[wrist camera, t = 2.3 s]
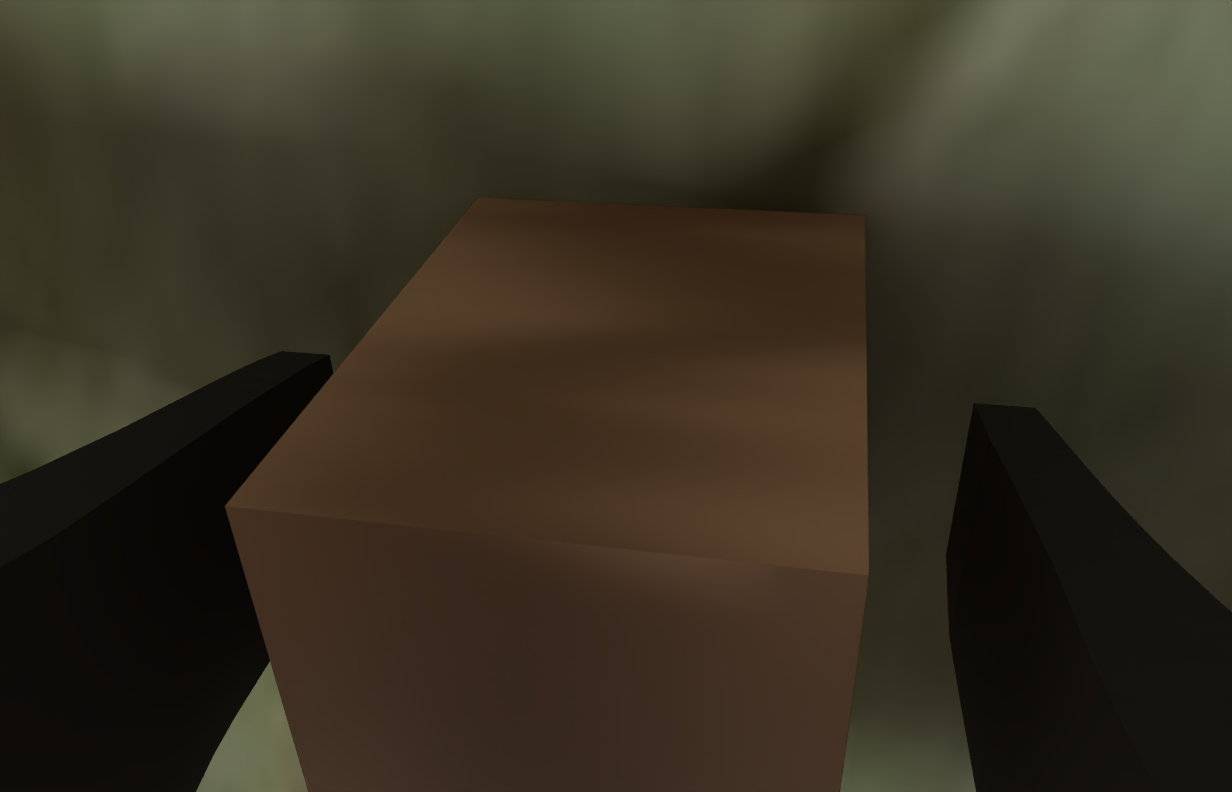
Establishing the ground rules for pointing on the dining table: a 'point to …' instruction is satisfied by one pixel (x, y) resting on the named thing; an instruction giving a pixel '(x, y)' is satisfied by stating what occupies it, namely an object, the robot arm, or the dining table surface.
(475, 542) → the walnut block
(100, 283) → the dining table surface
